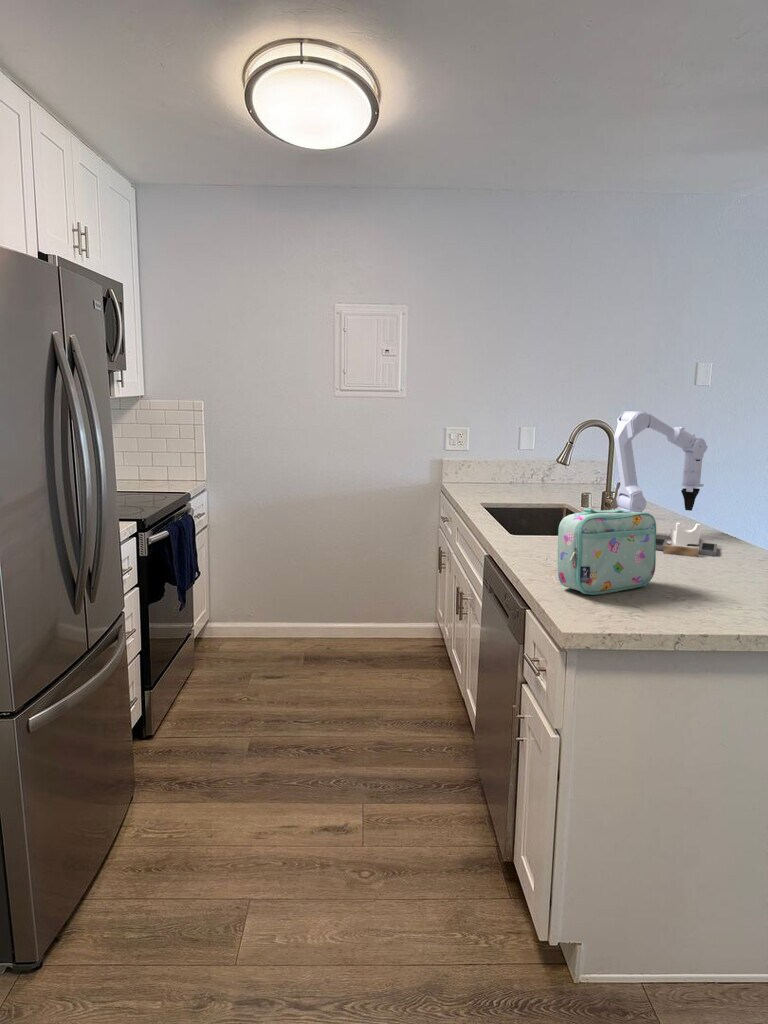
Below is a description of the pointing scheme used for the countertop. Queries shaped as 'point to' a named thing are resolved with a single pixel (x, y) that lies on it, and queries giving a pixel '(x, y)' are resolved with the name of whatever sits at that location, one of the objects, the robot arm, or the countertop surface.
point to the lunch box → (606, 550)
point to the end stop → (680, 550)
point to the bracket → (685, 535)
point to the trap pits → (704, 548)
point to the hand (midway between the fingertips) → (688, 509)
